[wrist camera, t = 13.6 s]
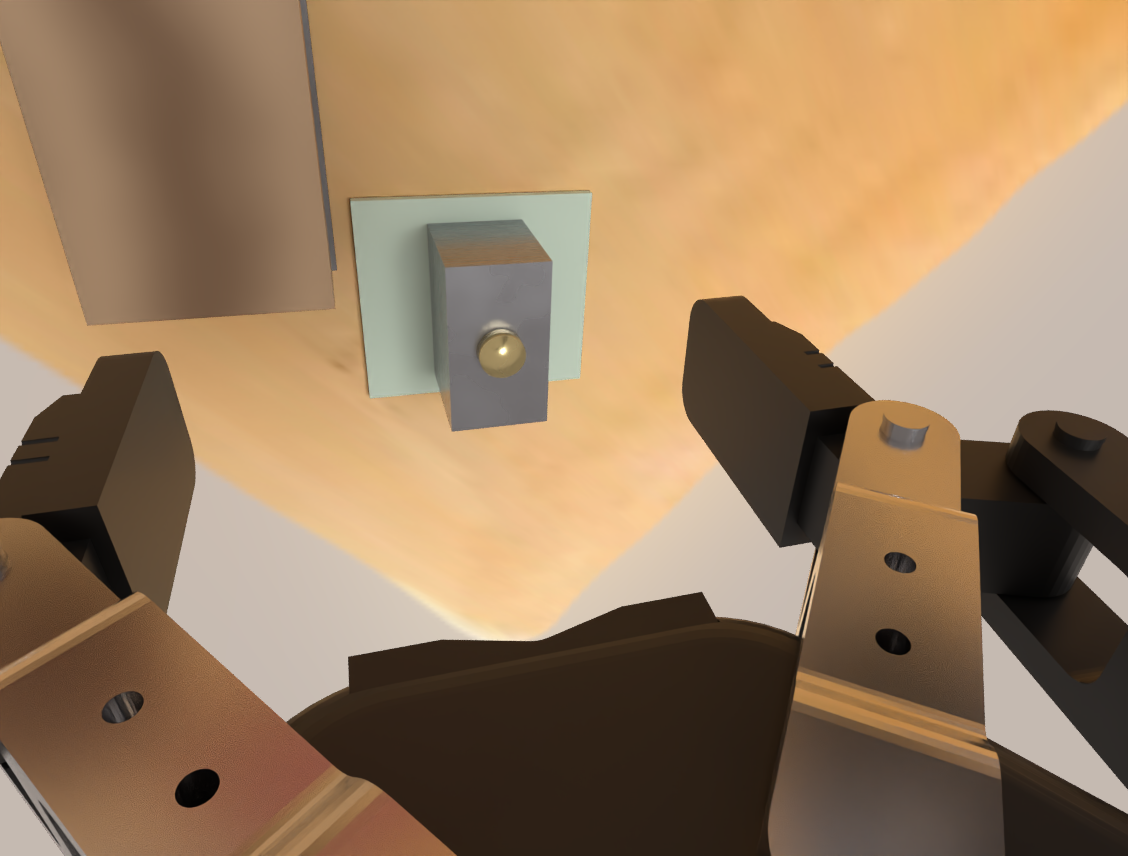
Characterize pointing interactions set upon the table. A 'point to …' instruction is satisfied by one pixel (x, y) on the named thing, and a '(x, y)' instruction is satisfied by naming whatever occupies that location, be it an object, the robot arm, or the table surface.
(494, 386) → the block with brass knob
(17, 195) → the table surface
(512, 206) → the mat
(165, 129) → the body
